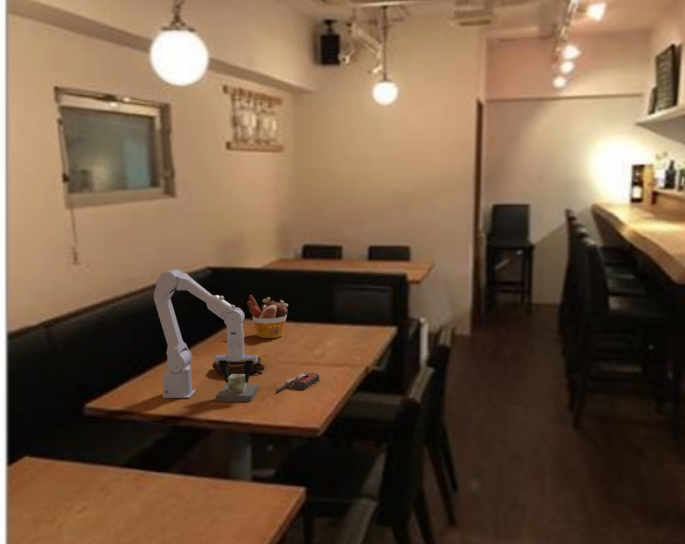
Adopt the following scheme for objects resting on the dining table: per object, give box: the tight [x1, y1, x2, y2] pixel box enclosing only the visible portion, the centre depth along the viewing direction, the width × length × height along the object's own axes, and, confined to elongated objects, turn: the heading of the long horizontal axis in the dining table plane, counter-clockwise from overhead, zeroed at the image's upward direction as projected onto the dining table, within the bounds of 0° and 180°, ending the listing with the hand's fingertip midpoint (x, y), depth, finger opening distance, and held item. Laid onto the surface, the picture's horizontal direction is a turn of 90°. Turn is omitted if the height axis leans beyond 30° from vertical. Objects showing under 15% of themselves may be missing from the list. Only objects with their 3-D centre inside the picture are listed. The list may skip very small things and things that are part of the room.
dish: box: [211, 356, 266, 376], centre depth 261 cm, size 18×22×5 cm
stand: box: [215, 383, 259, 402], centre depth 232 cm, size 12×12×2 cm
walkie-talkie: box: [274, 372, 320, 393], centre depth 241 cm, size 9×4×20 cm
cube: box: [228, 374, 247, 392], centre depth 231 cm, size 5×5×5 cm
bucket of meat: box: [246, 294, 289, 339], centre depth 317 cm, size 20×16×20 cm
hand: (237, 381), depth 231 cm, fingers open, 6 cm apart
